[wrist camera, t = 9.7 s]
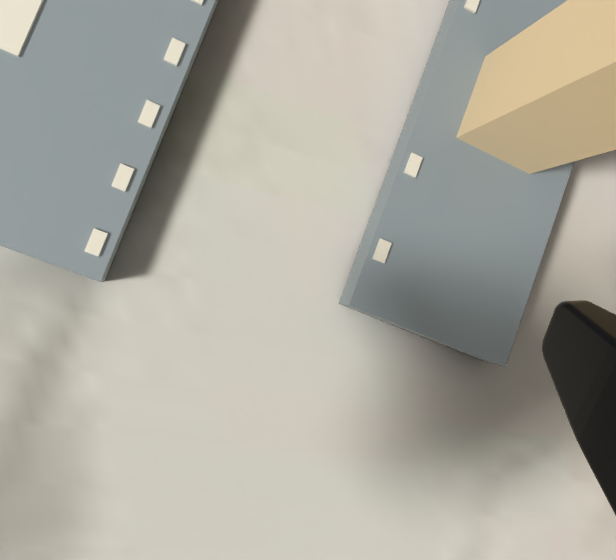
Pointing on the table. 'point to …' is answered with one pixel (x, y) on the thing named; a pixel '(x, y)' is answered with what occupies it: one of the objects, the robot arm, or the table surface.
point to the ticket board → (86, 118)
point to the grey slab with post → (486, 168)
